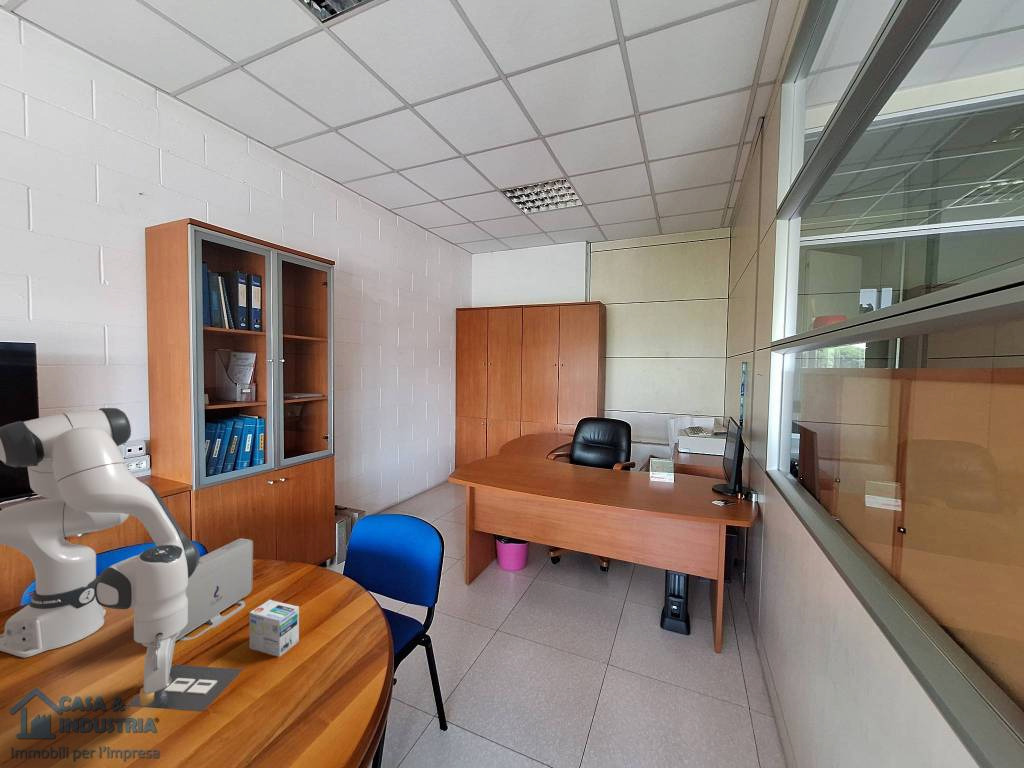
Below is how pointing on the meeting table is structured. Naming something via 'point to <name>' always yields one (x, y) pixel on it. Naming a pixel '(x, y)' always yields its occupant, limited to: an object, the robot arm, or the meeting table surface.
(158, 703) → the dark grey flat plate
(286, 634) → the light bulb box
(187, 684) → the psu label
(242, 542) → the network device
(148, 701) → the dark grey lever handle
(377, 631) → the meeting table surface
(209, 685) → the white flat rectangle
